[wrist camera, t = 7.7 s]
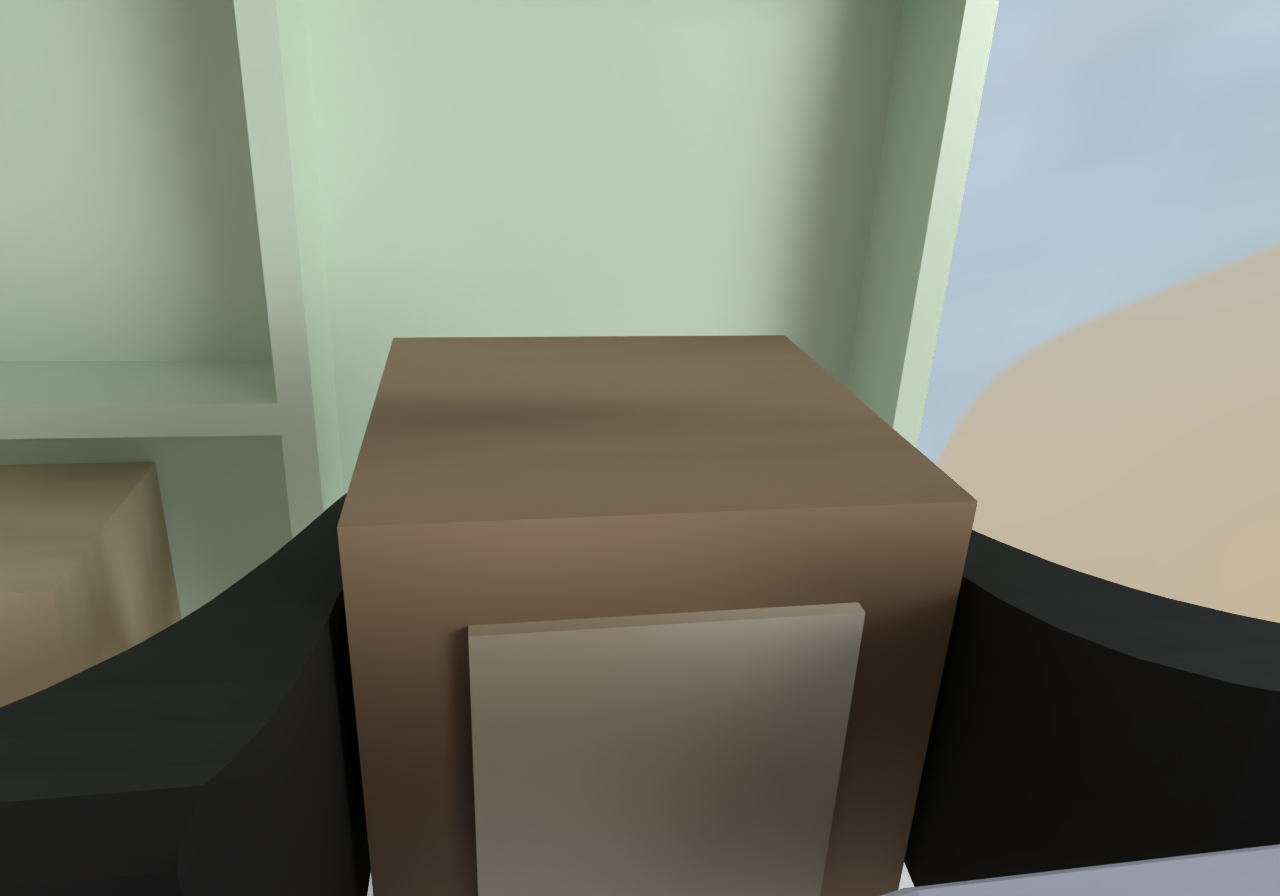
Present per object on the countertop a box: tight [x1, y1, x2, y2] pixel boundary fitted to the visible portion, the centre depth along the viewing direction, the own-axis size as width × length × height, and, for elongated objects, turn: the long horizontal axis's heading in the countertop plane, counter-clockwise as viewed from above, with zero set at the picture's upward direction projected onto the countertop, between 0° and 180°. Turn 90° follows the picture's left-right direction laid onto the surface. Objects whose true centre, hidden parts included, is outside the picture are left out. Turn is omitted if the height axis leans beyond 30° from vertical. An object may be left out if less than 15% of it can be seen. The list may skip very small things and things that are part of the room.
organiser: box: [0, 0, 999, 619], centre depth 17 cm, size 18×24×3 cm
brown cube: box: [337, 335, 977, 896], centre depth 10 cm, size 5×5×5 cm
